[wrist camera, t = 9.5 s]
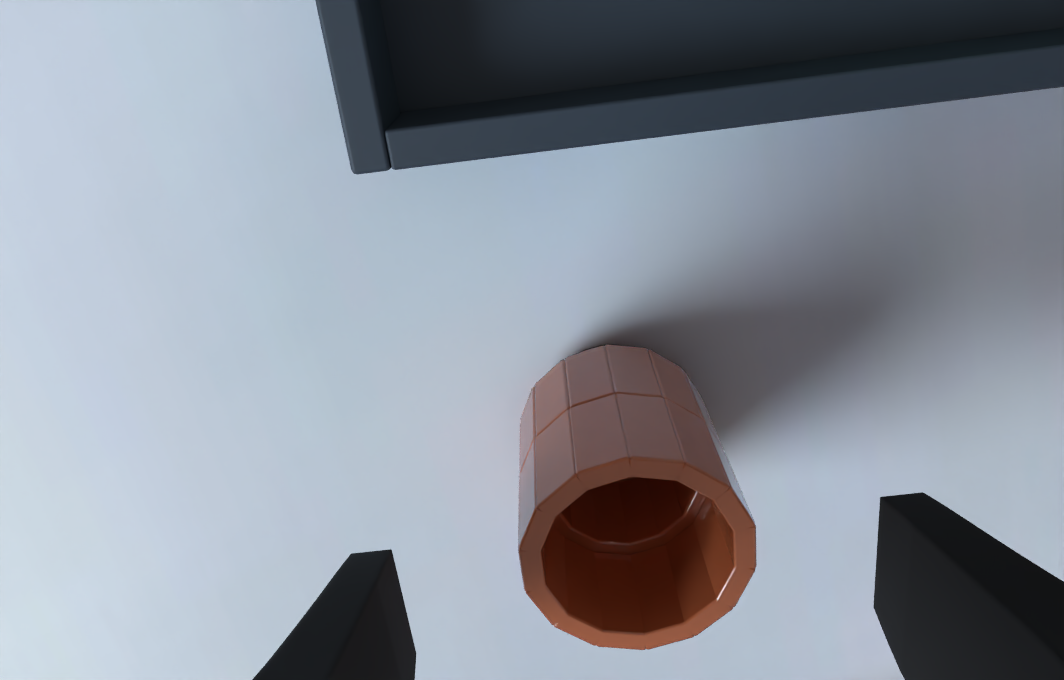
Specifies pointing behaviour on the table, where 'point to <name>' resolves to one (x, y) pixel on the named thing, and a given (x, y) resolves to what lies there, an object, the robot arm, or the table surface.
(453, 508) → the table surface
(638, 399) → the brown cup
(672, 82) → the tray
